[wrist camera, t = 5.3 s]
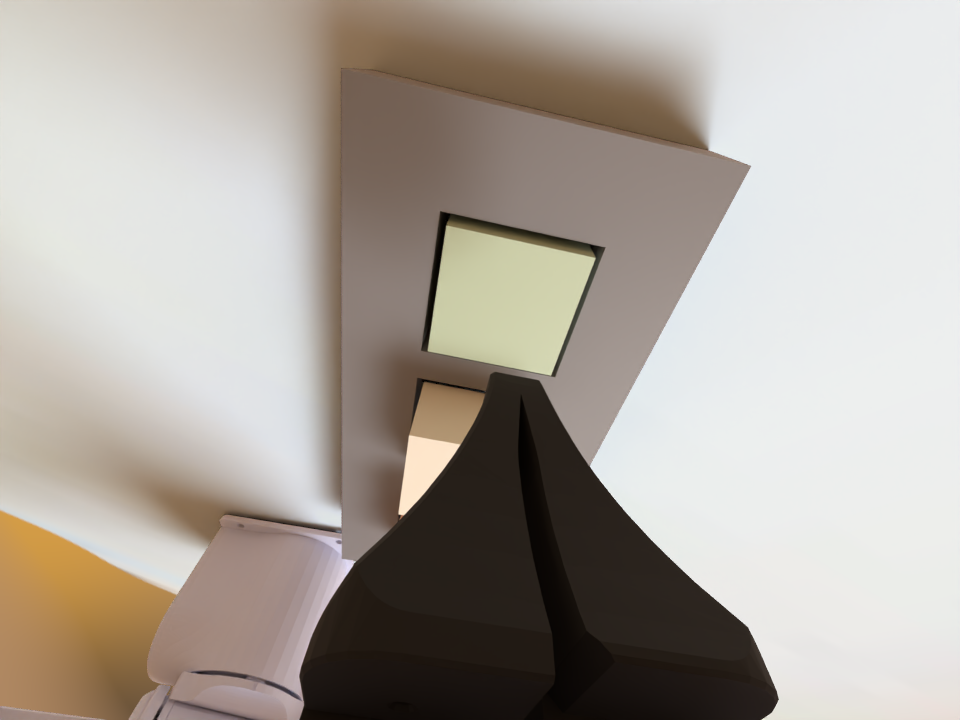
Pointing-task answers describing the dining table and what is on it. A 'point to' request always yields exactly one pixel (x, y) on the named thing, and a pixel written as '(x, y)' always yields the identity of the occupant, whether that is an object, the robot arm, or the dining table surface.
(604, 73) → the dining table surface
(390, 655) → the robot arm
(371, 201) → the board
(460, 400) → the cream key
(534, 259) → the green key
